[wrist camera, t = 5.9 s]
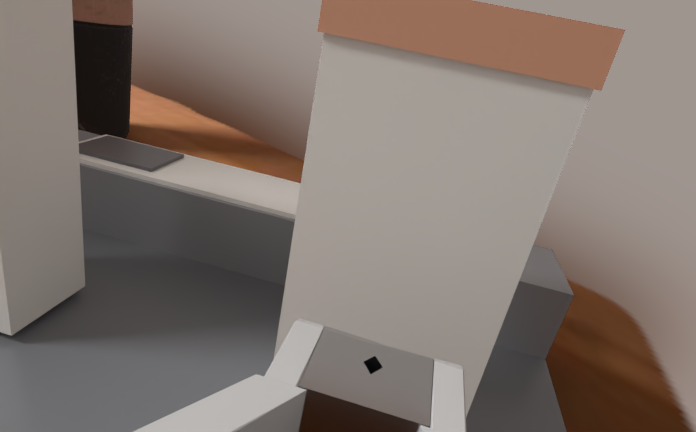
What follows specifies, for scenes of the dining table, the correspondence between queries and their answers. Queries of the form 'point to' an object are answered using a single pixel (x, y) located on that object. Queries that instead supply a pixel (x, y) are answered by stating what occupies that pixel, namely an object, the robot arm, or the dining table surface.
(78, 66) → the travel mug
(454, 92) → the terracotta key
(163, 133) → the dining table surface
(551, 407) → the key console
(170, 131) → the dining table surface
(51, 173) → the charcoal key
